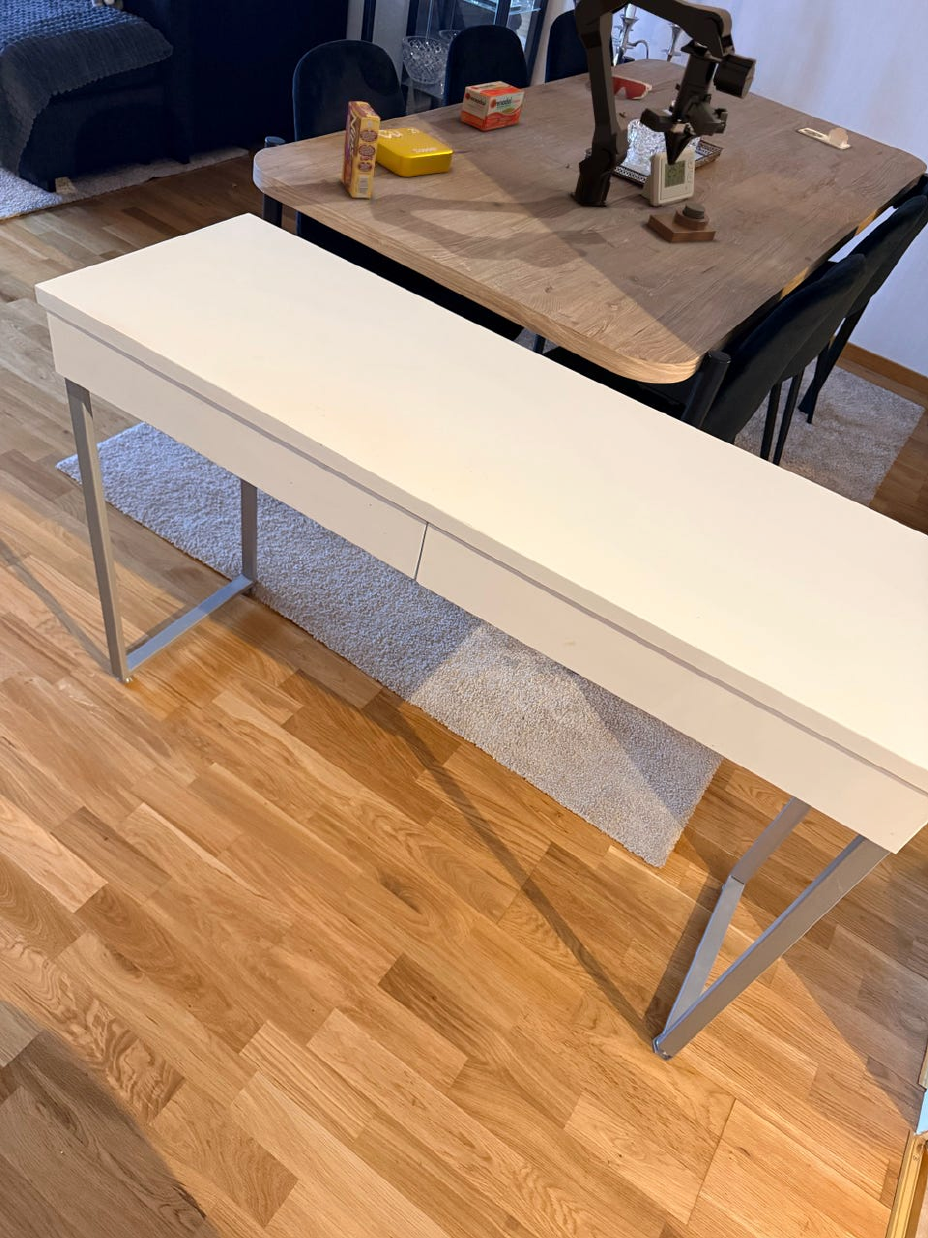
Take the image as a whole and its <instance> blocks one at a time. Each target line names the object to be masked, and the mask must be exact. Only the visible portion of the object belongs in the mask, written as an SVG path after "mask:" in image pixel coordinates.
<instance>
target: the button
mask: <svg viewBox="0 0 928 1238" xmlns="http://www.w3.org/2000/svg"><path fill="white" fill-rule="evenodd" d="M684 207H685V208H684V211H683V214H684V215H686V216H688V217H690V218H694V219H702V218H703V215H704V213H705V212H706V207H705V206H703V205H702V204H699V203H696V202H686V203H685V205H684Z"/></svg>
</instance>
